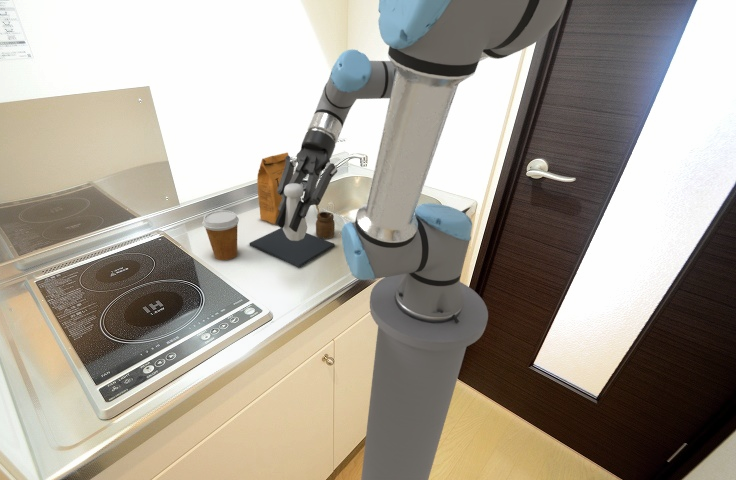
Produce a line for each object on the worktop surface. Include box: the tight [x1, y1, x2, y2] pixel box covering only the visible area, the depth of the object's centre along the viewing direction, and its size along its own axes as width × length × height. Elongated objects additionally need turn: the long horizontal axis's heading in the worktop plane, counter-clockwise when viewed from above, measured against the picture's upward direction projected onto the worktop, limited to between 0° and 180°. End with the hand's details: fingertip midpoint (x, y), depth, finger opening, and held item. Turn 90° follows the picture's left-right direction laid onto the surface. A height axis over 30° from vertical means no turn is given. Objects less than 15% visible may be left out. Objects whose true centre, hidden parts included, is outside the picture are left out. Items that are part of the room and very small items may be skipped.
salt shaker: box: [283, 183, 308, 241], centre depth 85 cm, size 6×6×13 cm
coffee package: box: [256, 152, 294, 225], centre depth 121 cm, size 10×12×22 cm
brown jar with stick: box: [315, 201, 336, 240], centre depth 114 cm, size 6×6×12 cm
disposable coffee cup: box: [201, 209, 240, 261], centre depth 102 cm, size 10×10×12 cm
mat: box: [249, 227, 336, 269], centre depth 110 cm, size 20×16×1 cm
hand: (285, 227), depth 83 cm, fingers closed on salt shaker, 3 cm apart
